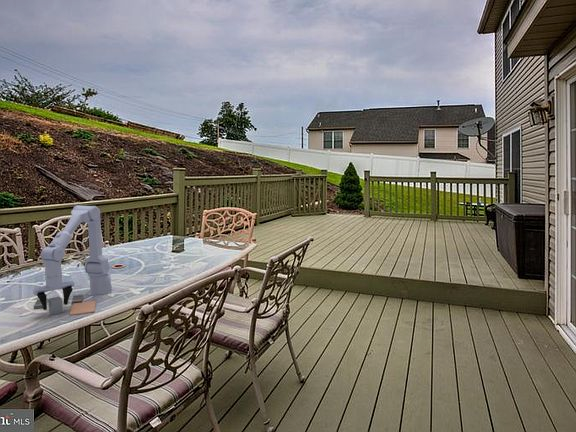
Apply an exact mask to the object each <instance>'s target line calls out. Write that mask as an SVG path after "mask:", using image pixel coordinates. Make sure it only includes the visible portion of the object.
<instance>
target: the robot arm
mask: <svg viewBox="0 0 576 432" xmlns="http://www.w3.org/2000/svg"><path fill="white" fill-rule="evenodd" d="M70 215H71V216H70V219H68V222H67V223H66V225H65V227H64V229H63V230H62V231H59V232H57V233H56V235H55V237H54V238H53V239H52V241H51V242H50V244H48V246H45V247H44V248H42V249H41V253H40V254H39V256H40V259H41V260H42V264H43V265H44V274H45V285H43V286H40V287H36V288H33V289H32V294H33V295H36V296H37V298H38V299H39V300H40V301H41V303H42V306H43V308H42V309H43V310H44V311H47V310H48V307H47V305H46V298H47V294H46V293H47V292H52V291H53V292H54V291H57V290H62V295H63V304H64V305H65V306H67V305H68V304H69V303H68V302H69V299H70V297H71V294H72V291H73V290H74V288H73V287H75V282H74V281H66V282H65V281H64V282H63V271H62V260H63V258H64V257H65V253H66V248H67V247H68V245H69V244H70V242H71V241H72V235H73V233H74V232H75V231H76V229H77V228H78V227H79V226H80V225H81V223H85V224H87V230H88V231H87V232H88V233H87V234H88V247H89V256H88V257H87V258H86V259H85V265H84V272H85V273H86V274H87V276H89V292H88V296H98V295H106V294H112V293H111V292H112V288H113V287H112V282H111V281H112V280H111V279H112V278H111V273H109V271H110V269H111V268H110V267H111V265H110V263H109V258H107V257H106V256H105V255H103V244H102V226H101V221H102V220H101V209H100V208H99V207H98V206H96V205H79V204H78V205H75V206H74V207H73V209H72V210H71V212H70Z"/></svg>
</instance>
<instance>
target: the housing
mask: <svg viewBox="0 0 576 432" xmlns="http://www.w3.org/2000/svg"><path fill="white" fill-rule="evenodd" d="M48 299H49V298H47V297H46V305H47V304H48ZM83 301H84V294H74V295H73V297H72V299H71V306H72V305H73V304H74V303H82V302H83ZM39 309H43V306H42V303H41V301H40V300H39V298H38V299H36V301H35V302H34V304H33V310H39Z"/></svg>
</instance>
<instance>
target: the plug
mask: <svg viewBox="0 0 576 432" xmlns="http://www.w3.org/2000/svg"><path fill="white" fill-rule="evenodd" d="M47 304H48V313H49V314H50V315H51V316H54V315H55V316H56V315H59V314H62V313H64V307H63V304H64V300H63V297H60V296H55V297H51V298H48V303H47Z"/></svg>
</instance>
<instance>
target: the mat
mask: <svg viewBox="0 0 576 432" xmlns="http://www.w3.org/2000/svg"><path fill="white" fill-rule="evenodd" d="M96 303H97V301H96V300H91V301H84V302H82V303H74V304H73V305H72V304H71V309H70V312H69V316H70V317H71V316H79V315H85V314H93V313H95V311H96V305H97V304H96Z"/></svg>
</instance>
